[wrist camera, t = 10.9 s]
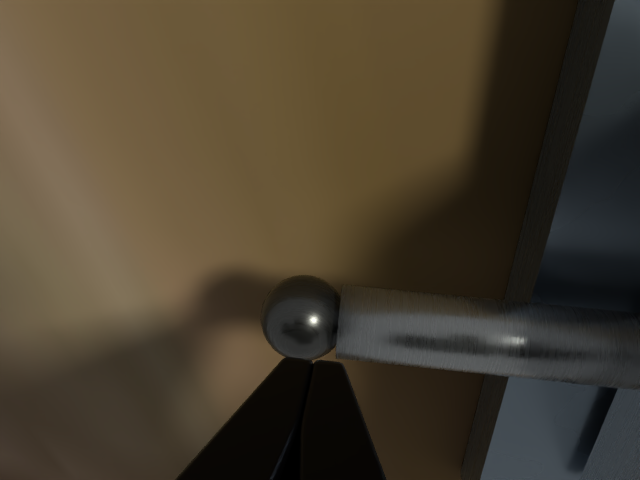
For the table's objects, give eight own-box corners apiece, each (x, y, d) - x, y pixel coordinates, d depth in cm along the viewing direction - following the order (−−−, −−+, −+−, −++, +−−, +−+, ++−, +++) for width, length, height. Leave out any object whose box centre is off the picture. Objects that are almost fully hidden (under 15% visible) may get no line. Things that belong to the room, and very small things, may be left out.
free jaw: (965, 58, 7) (1685, 271, 3) (691, 506, 12) (838, 814, 8) (264, 20, 8) (127, 149, 4) (273, 455, 12) (215, 713, 8)
